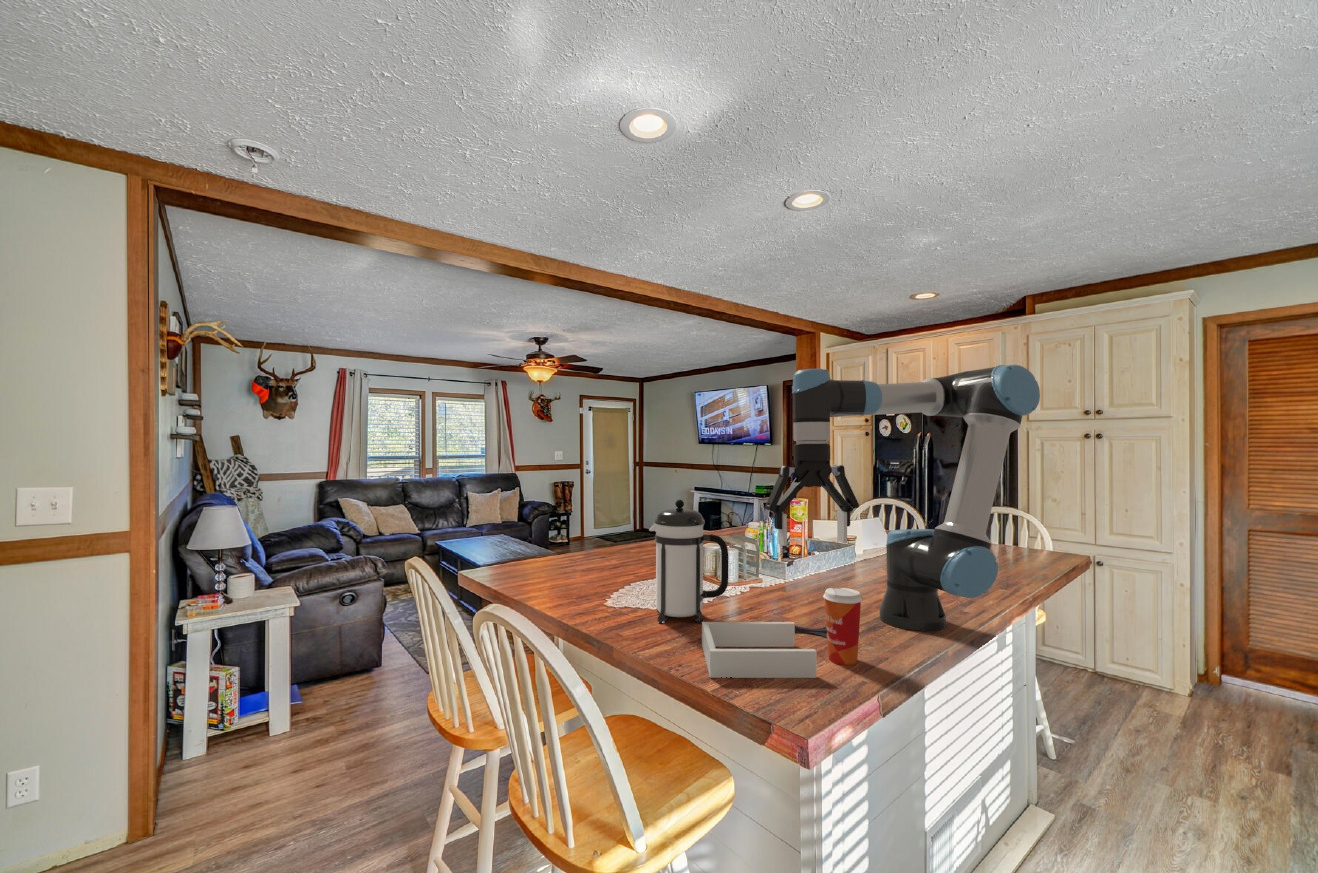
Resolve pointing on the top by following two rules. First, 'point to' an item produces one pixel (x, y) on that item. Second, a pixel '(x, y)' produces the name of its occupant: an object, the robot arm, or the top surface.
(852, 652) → the paper cup
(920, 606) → the robot arm
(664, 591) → the coffee press
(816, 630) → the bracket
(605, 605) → the top surface
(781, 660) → the box
